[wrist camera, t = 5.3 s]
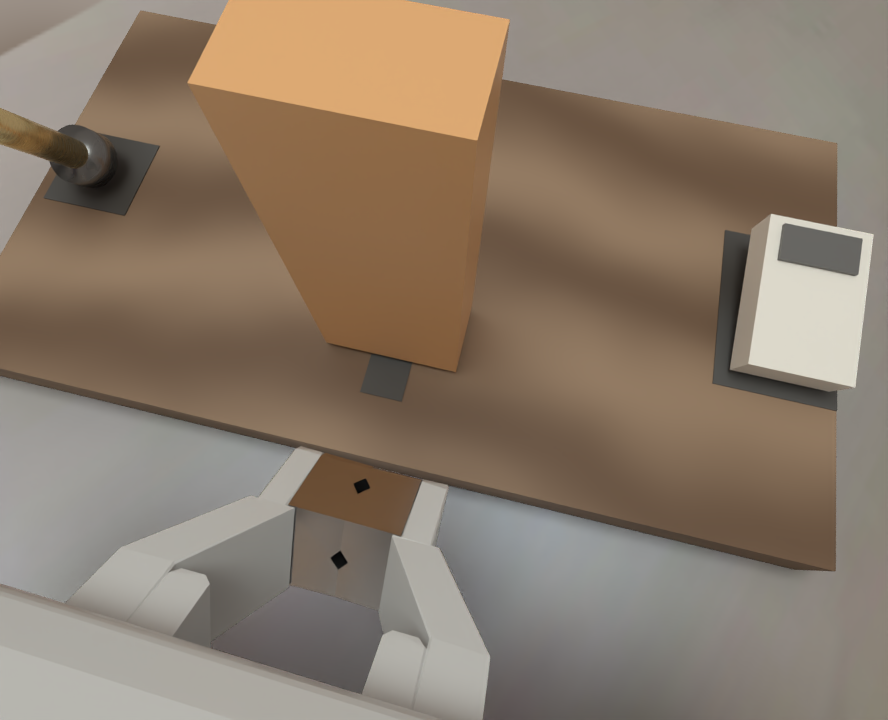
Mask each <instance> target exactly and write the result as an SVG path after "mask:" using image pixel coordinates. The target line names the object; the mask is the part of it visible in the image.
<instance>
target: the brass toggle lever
mask: <svg viewBox="0 0 888 720" xmlns="http://www.w3.org/2000/svg"><path fill="white" fill-rule="evenodd" d="M0 144H1V145H4V146H7V147H10V148H13V149H16V150H19V151H22V152H25V153H28V154H31V155H34V156H37V157H40V158H43V159H46V160H49V161H50V164H51V167H52V169H53V170H54V172H55V173H56V174H57V175H58V176H59V177H60V178H61V179H63V180H64V181H67V182H69V183H73V184H76V185H79V186H83V187H86V188H99V187H102V186H104V185H106V184H107V183H108V182H109V181H110V180H111V179H112V178H113V176H114V174H115V172H116V169H117V163H118V160H117V153H116V150H115V148H114V146H113V144H112V143H111V142H110V141H109V139H107V138H106V137H105V136H103V135H101V134H99V133H97V132H95V131H92V130H90V129H88V128H86V127H83V126H80V125H68V126H65V127H63V128H61V129H60V130H58V131H55V130H53V129H50V128H48V127H45V126H43V125H40V124H38V123H36V122H33V121H31V120H28V119H26V118H23V117H21V116H18V115H16V114H14V113H11V112H9V111H6V110H4V109H1V108H0Z"/></svg>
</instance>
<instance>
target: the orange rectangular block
mask: <svg viewBox="0 0 888 720" xmlns="http://www.w3.org/2000/svg"><path fill="white" fill-rule="evenodd" d="M509 22H510V20H509V19H504V18H498V17H493V16H487V15H482V14H476V13H471V12H465V11H460V10H455V9H449V8H444V7H438V6H433V5H427V4H422V3H416V2H411V1H405V0H229V1H228V3H227V5H226V7H225V9H224V11H223V13H222V15H221V17H220V19H219V21H218V23H217V25H216V27H215V29H214V31H213V33H212V35H211V37H210V39H209V41H208V43H207V45H206V47H205V49H204V51H203V53H202V55H201V57H200V59H199V61H198V63H197V65H196V67H195V69H194V71H193V73H192V75H191V76H190V78H189V80H188V82H187V83H188V85H189V87H190V89H191V91H192V93H193V95H194V96H195V98H196V100H197V102H198V104H199V106H200V108H201V109H202V111H203V113H204V115H205V117H206V119H207V121H208V123H209V124H210V126H211V128H212V130H213V132H214V134H215V136H216V137H217V139H218V141H219V143H220V145H221V147H222V149H223V151H224V152H225V154H226V156H227V158H228V160H229V162H230V164H231V165H232V167H233V169H234V171H235V173H236V175H237V177H238V179H239V180H240V182H241V184H242V186H243V188H244V190H245V192H246V193H247V195H248V197H249V199H250V201H251V203H252V205H253V207H254V208H255V210H256V212H257V214H258V216H259V218H260V220H261V221H262V223H263V225H264V227H265V229H266V231H267V233H268V235H269V236H270V238H271V240H272V242H273V244H274V246H275V248H276V249H277V251H278V253H279V255H280V257H281V259H282V261H283V263H284V264H285V266H286V268H287V270H288V272H289V274H290V276H291V277H292V279H293V281H294V283H295V285H296V287H297V289H298V291H299V292H300V294H301V296H302V298H303V300H304V302H305V304H306V305H307V307H308V309H309V311H310V313H311V315H312V317H313V319H314V320H315V322H316V324H317V326H318V328H319V330H320V332H321V333H322V335H323V337H324V339H325V341H326V343H331V344H335V345H339V346H344V347H348V348H352V349H357V350H361V351H366V352H370V353H374V354H379V355H383V356H387V357H392V358H396V359H400V360H405V361H409V362H414V363H418V364H422V365H427V366H431V367H435V368H440V369H444V370H448V371H453V372H456V370H457V366H458V362H459V358H460V353H461V349H462V345H463V341H464V337H465V333H466V329H467V325H468V321H469V316H470V312H471V308H472V302H473V294H474V287H475V279H476V272H477V264H478V257H479V249H480V242H481V234H482V226H483V219H484V211H485V204H486V196H487V189H488V181H489V174H490V166H491V158H492V151H493V143H494V136H495V128H496V121H497V113H498V106H499V98H500V90H501V83H502V75H503V68H504V60H505V53H506V45H507V38H508V30H509Z"/></svg>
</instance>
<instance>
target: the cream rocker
mask: <svg viewBox="0 0 888 720" xmlns="http://www.w3.org/2000/svg"><path fill="white" fill-rule="evenodd" d="M872 243H873V234H869V233H864V232H859V231H854V230H849V229H844V228H839V227H834V226H829V225H824V224H819V223H814V222H809V221H804V220H799V219H794V218H789V217H784V216H779V215H775V214H770V215H769V216H767V217H766V218H765V219H764V220H762V221H761V222H760V223H758V224H757V225H756V226H755V227H753V228H752V230H751V236H750V243H749V249H748V255H747V262H746V268H745V275H744V281H743V287H742V294H741V300H740V307H739V313H738V319H737V326H736V332H735V339H734V345H733V351H732V358H731V364H730V370H733V371H738V372H742V373H747V374H751V375H756V376H760V377H765V378H769V379H774V380H778V381H783V382H787V383H792V384H796V385H801V386H805V387H810V388H814V389H819V390H824V391H828V392H831V391H837V390H843V389H849V388H855V385H856V377H857V368H858V360H859V352H860V343H861V335H862V326H863V318H864V310H865V301H866V293H867V285H868V276H869V268H870V259H871V251H872Z"/></svg>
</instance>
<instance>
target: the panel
mask: <svg viewBox="0 0 888 720" xmlns="http://www.w3.org/2000/svg"><path fill="white" fill-rule="evenodd" d="M215 27H216V25H214V24H208V23H203V22H198V21H193V20H187V19H182V18H177V17H172V16H166V15H161V14H156V13H151V12H145V11H140V12H139V14H138V16H137V17H136V19H135V21H134V23H133V24H132V26H131V28H130V30H129V31H128V33H127V35H126V37H125V38H124V40H123V42H122V44H121V45H120V47H119V49H118V51H117V52H116V54H115V56H114V58H113V59H112V61H111V63H110V64H109V66H108V68H107V70H106V71H105V73H104V75H103V77H102V78H101V80H100V82H99V84H98V85H97V87H96V89H95V91H94V92H93V94H92V96H91V98H90V99H89V101H88V103H87V105H86V106H85V108H84V110H83V112H82V113H81V115H80V117H79V119H78V120H77V122H76V124H75V125H80V126H83V127H86V128H88V129H90V130H92V131H95V132H97V133H99V134H101V135H103V136H105V137H106V138H107V139H109V141H110V142H111V143H112V144H113V146H114V148H115V150H116V153H117V160H118V163H117V169H116V172H115V174H114V176H113V178H112V179H111V180H110V181H109V182H108V183H107V184H106V185H104V186H102V187H99V188H86V187H83V186H79V185H76V184H73V183H69V182H67V181H64V180H63V179H61V178H60V177H59V176H58V175H57V174H56V173H55V172H54V170H53V169H52V167H50V169H49V171H48V173H47V174H46V176H45V178H44V180H43V181H42V183H41V185H40V187H39V188H38V190H37V192H36V194H35V195H34V197H33V199H32V201H31V202H30V204H29V206H28V208H27V209H26V211H25V213H24V215H23V216H22V218H21V220H20V222H19V223H18V225H17V227H16V229H15V230H14V232H13V234H12V236H11V237H10V239H9V241H8V243H7V244H6V246H5V248H4V250H3V251H2V253H1V255H0V376H3V377H7V378H11V379H16V380H20V381H24V382H28V383H32V384H36V385H40V386H44V387H48V388H52V389H57V390H61V391H65V392H69V393H73V394H77V395H81V396H85V397H89V398H94V399H98V400H102V401H106V402H110V403H114V404H118V405H122V406H126V407H130V408H135V409H139V410H143V411H147V412H151V413H155V414H159V415H163V416H167V417H171V418H176V419H180V420H184V421H188V422H192V423H196V424H200V425H204V426H208V427H212V428H217V429H221V430H225V431H229V432H233V433H237V434H241V435H245V436H249V437H253V438H258V439H262V440H266V441H270V442H274V443H278V444H282V445H286V446H290V447H294V448H298V447H300V446H302V447H306V448H309V449H313V450H316V451H320V452H323V453H328V454H331V455H335V456H338V457H342V458H345V459H349V460H352V461H355V462H359V463H362V464H366V465H369V466H373V467H376V468H381V469H385V470H389V471H393V472H397V473H401V474H405V475H409V476H413V477H417V478H422V479H426V480H430V481H434V482H438V483H442V484H446V485H450V486H454V487H458V488H463V489H467V490H471V491H475V492H479V493H483V494H487V495H491V496H495V497H499V498H504V499H508V500H512V501H516V502H520V503H524V504H528V505H532V506H536V507H540V508H545V509H549V510H553V511H557V512H561V513H565V514H569V515H573V516H577V517H581V518H586V519H590V520H594V521H598V522H602V523H606V524H610V525H614V526H618V527H622V528H627V529H631V530H635V531H639V532H643V533H647V534H651V535H655V536H659V537H663V538H668V539H672V540H676V541H680V542H684V543H688V544H692V545H696V546H700V547H705V548H709V549H713V550H717V551H721V552H725V553H729V554H733V555H737V556H741V557H746V558H750V559H754V560H758V561H762V562H766V563H770V564H774V565H778V566H782V567H787V568H791V569H795V570H817V571H836V411H837V391H831V392H828V391H824V390H819V389H814V388H810V387H805V386H801V385H796V384H792V383H787V382H783V381H778V380H774V379H769V378H765V377H760V376H756V375H751V374H747V373H742V372H738V371H733V370H730V364H731V358H732V351H733V345H734V339H735V332H736V326H737V319H738V313H739V307H740V300H741V294H742V287H743V281H744V275H745V268H746V262H747V255H748V249H749V243H750V236H751V230H752V228H753V227H755V226H756V225H757V224H758V223H760V222H761V221H762V220H764V219H765V218H766V217H767V216H769V215H770V214H775V215H779V216H784V217H789V218H794V219H799V220H804V221H809V222H814V223H819V224H824V225H829V226H834V227H837V143H833V142H828V141H823V140H817V139H812V138H807V137H802V136H796V135H791V134H786V133H781V132H775V131H770V130H765V129H760V128H754V127H749V126H744V125H739V124H733V123H728V122H723V121H718V120H712V119H707V118H702V117H697V116H691V115H686V114H681V113H676V112H670V111H665V110H660V109H655V108H649V107H644V106H639V105H634V104H628V103H623V102H618V101H613V100H607V99H602V98H597V97H592V96H586V95H581V94H576V93H571V92H565V91H560V90H555V89H550V88H544V87H539V86H534V85H529V84H523V83H518V82H513V81H508V80H502V83H501V90H500V98H499V106H498V113H497V121H496V128H495V136H494V143H493V151H492V158H491V166H490V174H489V181H488V189H487V196H486V204H485V211H484V219H483V226H482V234H481V242H480V249H479V257H478V264H477V272H476V279H475V287H474V294H473V302H472V308H471V312H470V316H469V321H468V325H467V329H466V333H465V337H464V341H463V345H462V349H461V353H460V358H459V362H458V366H457V370H456V372H453V371H448V370H444V369H440V368H435V367H431V366H427V365H422V364H418V363H414V362H409V361H405V360H400V359H396V358H392V357H387V356H383V355H379V354H374V353H370V352H366V351H361V350H357V349H352V348H348V347H344V346H339V345H335V344H331V343H326V341H325V339H324V337H323V335H322V333H321V332H320V330H319V328H318V326H317V324H316V322H315V320H314V319H313V317H312V315H311V313H310V311H309V309H308V307H307V305H306V304H305V302H304V300H303V298H302V296H301V294H300V292H299V291H298V289H297V287H296V285H295V283H294V281H293V279H292V277H291V276H290V274H289V272H288V270H287V268H286V266H285V264H284V263H283V261H282V259H281V257H280V255H279V253H278V251H277V249H276V248H275V246H274V244H273V242H272V240H271V238H270V236H269V235H268V233H267V231H266V229H265V227H264V225H263V223H262V221H261V220H260V218H259V216H258V214H257V212H256V210H255V208H254V207H253V205H252V203H251V201H250V199H249V197H248V195H247V193H246V192H245V190H244V188H243V186H242V184H241V182H240V180H239V179H238V177H237V175H236V173H235V171H234V169H233V167H232V165H231V164H230V162H229V160H228V158H227V156H226V154H225V152H224V151H223V149H222V147H221V145H220V143H219V141H218V139H217V137H216V136H215V134H214V132H213V130H212V128H211V126H210V124H209V123H208V121H207V119H206V117H205V115H204V113H203V111H202V109H201V108H200V106H199V104H198V102H197V100H196V98H195V96H194V95H193V93H192V91H191V89H190V87H189V85H188V83H187V82H188V80H189V78H190V76H191V75H192V73H193V71H194V69H195V67H196V65H197V63H198V61H199V59H200V57H201V55H202V53H203V51H204V49H205V47H206V45H207V43H208V41H209V39H210V37H211V35H212V33H213V31H214V29H215Z"/></svg>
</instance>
